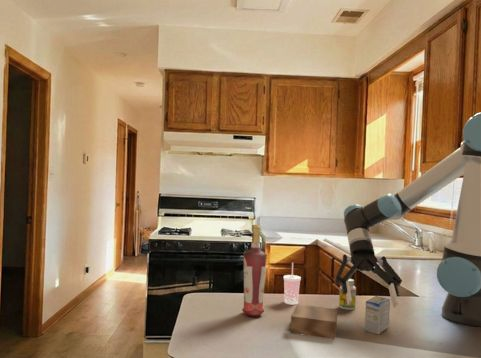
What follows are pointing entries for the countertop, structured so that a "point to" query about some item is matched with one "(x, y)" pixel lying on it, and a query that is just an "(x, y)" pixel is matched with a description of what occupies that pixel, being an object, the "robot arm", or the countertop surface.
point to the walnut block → (314, 321)
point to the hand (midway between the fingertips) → (372, 304)
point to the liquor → (254, 276)
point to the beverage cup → (291, 288)
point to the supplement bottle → (344, 300)
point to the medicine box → (377, 314)
